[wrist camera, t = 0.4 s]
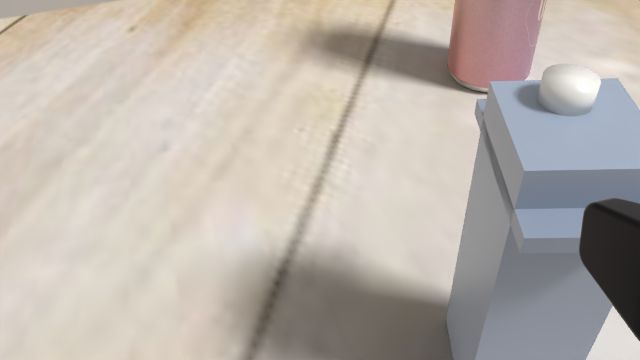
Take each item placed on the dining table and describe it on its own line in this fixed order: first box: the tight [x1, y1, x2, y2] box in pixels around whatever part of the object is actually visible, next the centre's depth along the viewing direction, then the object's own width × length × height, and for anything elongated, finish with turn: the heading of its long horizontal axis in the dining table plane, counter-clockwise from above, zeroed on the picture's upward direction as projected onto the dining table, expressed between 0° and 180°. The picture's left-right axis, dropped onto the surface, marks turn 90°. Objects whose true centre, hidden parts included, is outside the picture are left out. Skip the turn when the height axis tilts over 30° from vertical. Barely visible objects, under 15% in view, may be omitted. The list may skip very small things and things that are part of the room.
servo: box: [446, 64, 640, 360], centre depth 21 cm, size 7×4×14 cm, turn 179°
